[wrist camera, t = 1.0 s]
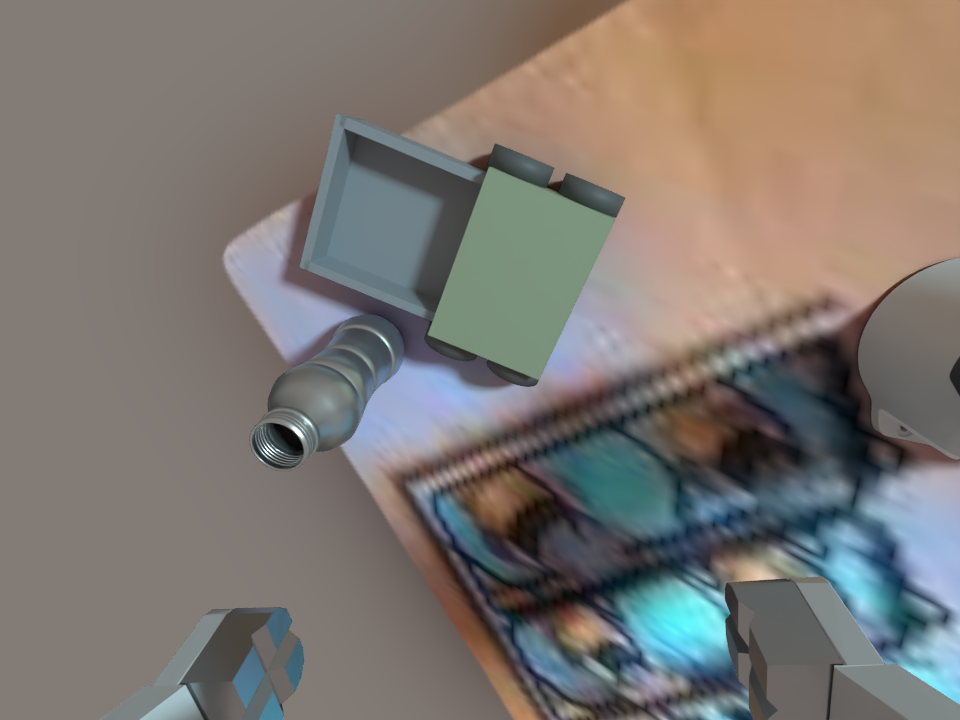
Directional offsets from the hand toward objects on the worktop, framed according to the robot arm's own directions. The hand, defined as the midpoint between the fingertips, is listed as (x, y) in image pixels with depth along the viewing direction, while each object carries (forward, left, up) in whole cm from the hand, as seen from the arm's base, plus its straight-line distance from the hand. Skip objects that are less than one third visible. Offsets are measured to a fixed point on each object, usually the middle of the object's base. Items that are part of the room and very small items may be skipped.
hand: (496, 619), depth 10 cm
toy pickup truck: (+7, +1, -39) cm, 39 cm away
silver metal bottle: (+11, +13, -39) cm, 43 cm away
